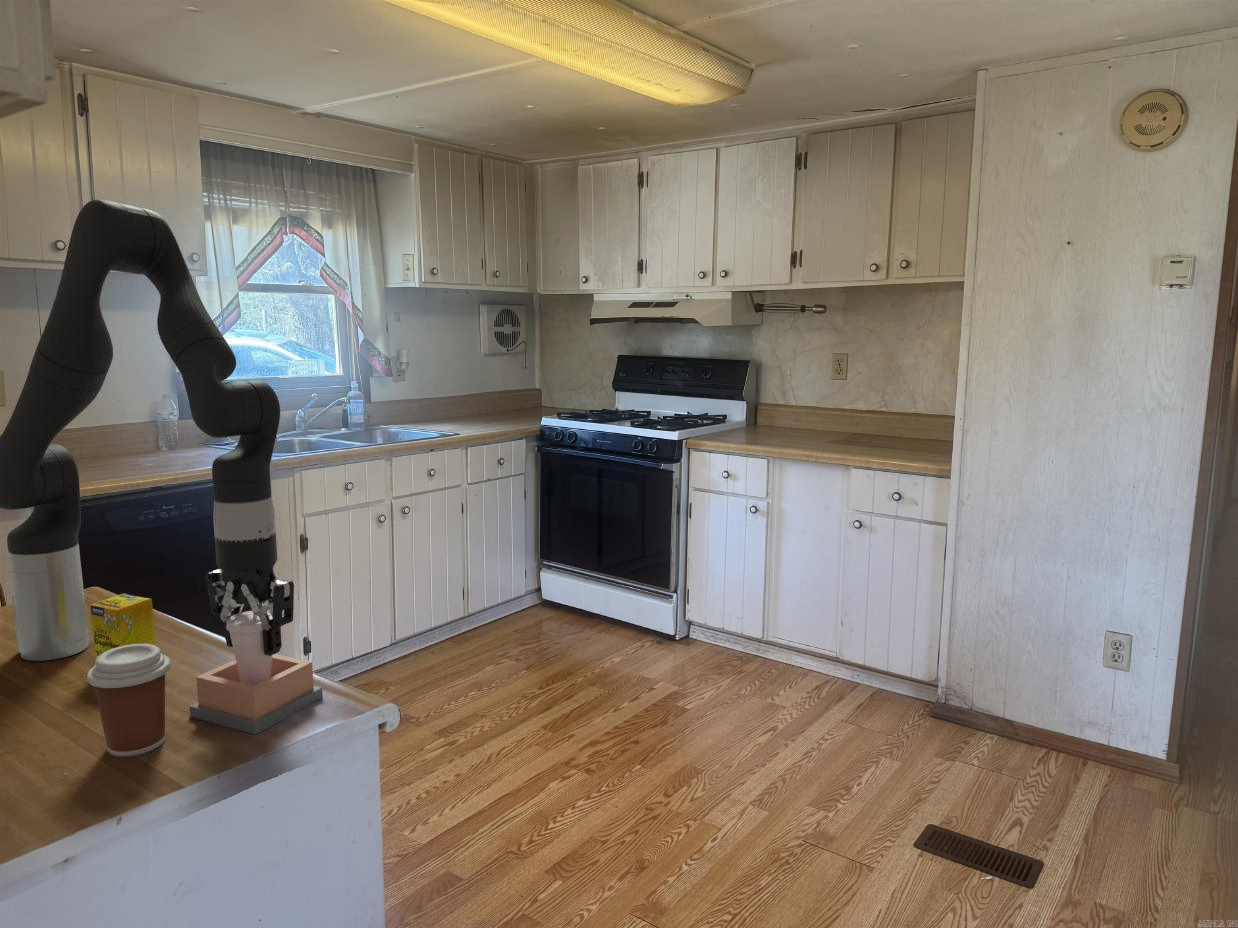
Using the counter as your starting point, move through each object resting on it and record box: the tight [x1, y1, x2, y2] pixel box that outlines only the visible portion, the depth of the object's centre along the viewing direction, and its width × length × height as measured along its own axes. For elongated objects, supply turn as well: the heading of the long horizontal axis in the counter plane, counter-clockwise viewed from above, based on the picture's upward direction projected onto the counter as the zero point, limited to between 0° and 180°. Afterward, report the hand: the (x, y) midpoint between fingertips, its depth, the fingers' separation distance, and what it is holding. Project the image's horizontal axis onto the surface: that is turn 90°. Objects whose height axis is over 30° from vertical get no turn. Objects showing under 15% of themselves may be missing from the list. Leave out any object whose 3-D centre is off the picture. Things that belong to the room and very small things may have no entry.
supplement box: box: [89, 592, 157, 660], centre depth 129 cm, size 6×6×11 cm
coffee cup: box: [86, 644, 171, 757], centre depth 107 cm, size 9×9×12 cm
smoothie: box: [226, 610, 273, 686], centre depth 116 cm, size 6×6×14 cm
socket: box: [188, 653, 324, 735], centre depth 117 cm, size 12×12×6 cm
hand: (253, 648), depth 117 cm, fingers closed on smoothie, 6 cm apart
